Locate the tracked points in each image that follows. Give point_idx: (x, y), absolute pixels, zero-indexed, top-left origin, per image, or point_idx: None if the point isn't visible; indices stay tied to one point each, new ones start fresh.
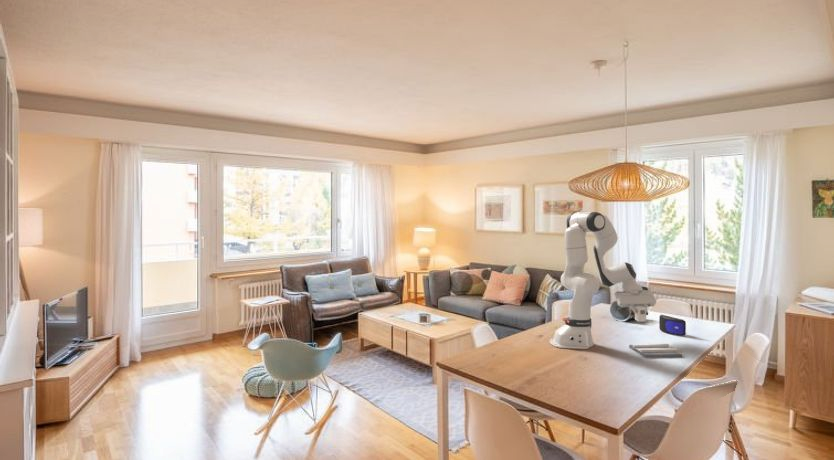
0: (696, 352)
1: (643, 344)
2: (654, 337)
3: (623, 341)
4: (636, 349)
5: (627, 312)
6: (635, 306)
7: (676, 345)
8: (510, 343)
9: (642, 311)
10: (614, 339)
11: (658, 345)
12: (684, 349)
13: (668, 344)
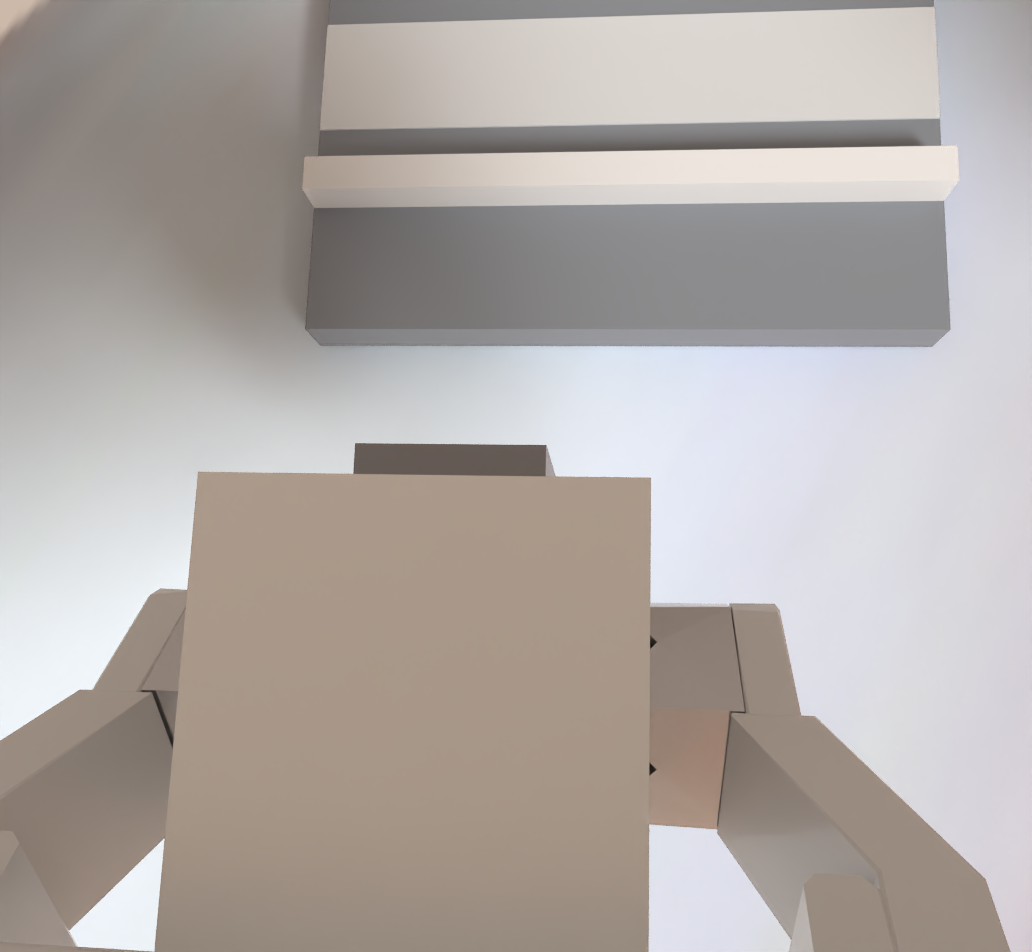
0: (15, 69)
1: (748, 183)
2: (111, 928)
3: (863, 729)
4: (936, 82)
5: None
6: (645, 900)
7: (59, 408)
8: None
9: (481, 458)
10: (991, 891)
11: (489, 160)
12: (82, 207)
13: (305, 162)
